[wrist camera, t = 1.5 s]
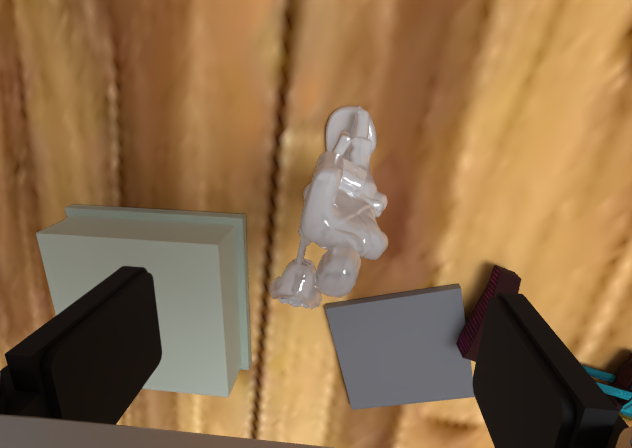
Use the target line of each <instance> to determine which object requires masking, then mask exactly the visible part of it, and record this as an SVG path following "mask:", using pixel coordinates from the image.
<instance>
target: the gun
mask: <svg viewBox="0 0 632 448" xmlns="http://www.w3.org/2000/svg"><path fill="white" fill-rule="evenodd" d="M520 282H521V278H520V277H519V276H518V275H517V274H516V273H515V272H513V271H510V270H507V269H505V268H502V267H500V266H497V265H495V266H494V269H493V271H492V274H491V277H490V279H489V282H488V285H487V287H486V289H485V290H484V292H483V294H482V296H481V298H480V299H479V301H478V303H477V305H476V306H475V308H474V310H473V312H472V314H471V315H470V317H469V319H468V321H467V322H466V324H465V326H464V328H463V330H462V331H461V333H460V335H459V338H458V340H457V343H456V344H457V347H458V349H459V351H460V353H461V355H462V358H465V359H468V360H472V361H475V362H476V360H477V355H478V350H479V345H480V340H481V335H482V330H483V325H484V320H485V315H486V310H487V305H488V301H489V299H490V297H496V295H497V293H499V292H503V293H517V294H518V291H519V286H520ZM582 366H583V365H582ZM583 367H584V369H585V370H586V371H587V372H588V374H589V375H590V376H592V377H595V378H599V379H602V380H605V381H609V384H608V385H605V384H602V383H598V382H596V383H597V384H598V386H599V387H600V388H601V389H602V390H603V392H604V393H605V394H606V395H607V397H608V398H609V399H610V400H611V401H612V403H613V404H614V405H615V406H616V407H617V409H618V410H619V415H620V416H621V418H622V419H623V420H626V421H630V420H632V353H631V354H630V355H629V357H628V358H627V360H626V361H625V363H624V364H623V366H622V367H621V368H620V369H619V370H618V371H617V372H616V373H615V374H614V375H613V374H610V373H606V372H603V371H600V370H596V369H593V368H590V367H586V366H583Z"/></svg>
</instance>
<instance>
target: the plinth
mask: <svg viewBox="0 0 632 448" xmlns="http://www.w3.org/2000/svg"><path fill="white" fill-rule="evenodd" d="M65 212H66V216H67V219H65V220H62V221H60V222H58V223H56V224H54V225H52V226H50V227H48V228H45V229H43V230H41V231H39V232H37V233H36V236H37V240H38V244H39V248H40V252H41V256H42V260H43V264H44V268H45V273H46V277H47V281H48V285H49V289H50V293H51V297H52V301H53V305H54V309H55V313H56V315H58V314H59V313H60V312H62V311H63V310H64V309H66V308H67V307H68V306H70V305H71V304H72V303H74V302H75V301H76V300H78V299H79V298H80V297H82V296H83V295H84V294H86V293H87V292H88V291H90V290H91V289H93V288H94V287H95V286H97V285H98V284H99V283H101V282H102V281H103V280H105V279H106V278H107V277H109V276H110V275H111V274H113V273H114V272H115V271H117V270H118V269H119V268H121V267H122V266H133V267H144V268H146V270H147V271H148V273H151V274H152V276H153V281H154V289H155V297H156V305H157V313H158V321H159V330H160V338H161V346H162V358H161V361H160V363H159V365H158V367H157V368H156V369H155V371H154V372H153V374H152V375H151V376H150V378H149V379H148V381H147V382H146V383H145V385H144V386H143V387H142V389H150V390H160V391H171V392H181V393H191V394H201V395H211V396H221V397H229V395H230V393H231V390H232V388H233V385H234V383H235V380H236V378H237V375H238V373H239V370H240V369H241V370H249V369H250V366H251V363H252V359H251V334H250V309H249V285H248V260H247V235H246V214H234V213H216V212H199V211H182V210H165V209H147V208H130V207H113V206H95V205H78V204H72V205H70V206H68V207H65Z"/></svg>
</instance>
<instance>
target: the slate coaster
mask: <svg viewBox="0 0 632 448" xmlns="http://www.w3.org/2000/svg"><path fill="white" fill-rule="evenodd" d="M325 310H326V313H327V317H328V321H329V325H330V329H331V332H332V336H333V340H334V344H335V347H336V351H337V355H338V359H339V363H340V366H341V370H342V374H343V378H344V381H345V385H346V389H347V393H348V397H349V400H350V404H351V408H352V410H354V409H364V408H373V407H383V406H392V405H402V404H411V403H421V402H431V401H440V400H450V399H459V398H469V397H475V395H474V392H473V376H472V369H471V361H470V360H468V359H465V358H462V355H461V353H460V351H459V349H458V347H457V344H456V343H457V340H458V338H459V335H460V333H461V331H462V330H463V328H464V326H465V324H466V323H465V315H464V308H463V300H462V293H461V287H460V285H459V284H453V285H446V286H440V287H433V288H427V289H420V290H414V291H407V292H401V293H394V294H388V295H382V296H375V297H369V298H362V299H356V300H349V301H343V302H336V303H330V304H326V307H325Z"/></svg>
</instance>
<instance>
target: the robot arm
mask: <svg viewBox="0 0 632 448" xmlns="http://www.w3.org/2000/svg"><path fill="white" fill-rule="evenodd" d="M5 357H6V360H7V364H8V365H7V366H6V367H4V368H3V369H2V370H1V371H0V448H333V447H323V446H314V445H304V444H295V443H285V442H276V441H266V440H257V439H248V438H238V437H229V436H220V435H210V434H201V433H191V432H182V431H173V430H163V429H154V428H144V427H134V426H124V425H116V423H117V422H118V421H119V419H120V418H121V417H122V415H123V414H124V412H125V411H126V410H127V408H128V407H129V405H130V404H131V403H132V401H133V400H134V399H135V397H136V396H137V394H138V393H139V392H140V390H141V389H142V387H143V386H144V385H145V383H146V382H147V381H148V379H149V378H150V376H151V375H152V374H153V372H154V371H155V369H156V368H157V367H158V365H159V363H160V361H161V358H162V346H161V338H160V330H159V321H158V313H157V305H156V297H155V289H154V281H153V276H152V274H151V273H148V271H147V270H146V268H144V267H133V266H122V267H121V268H119V269H118V270H117V271H115V272H114V273H113V274H111V275H110V276H109V277H107V278H106V279H105V280H103V281H102V282H101V283H99V284H98V285H97V286H95V287H94V288H93V289H91V290H90V291H88V292H87V293H86V294H84V295H83V296H82V297H80V298H79V299H78V300H76V301H75V302H74V303H72V304H71V305H70V306H68V307H67V308H66V309H64V310H63V311H62V312H60V313H59V314H58V315H56V316H55V317H54V318H52V319H51V320H50V321H48V322H47V323H46V324H44V325H43V326H42V327H40V328H39V329H38V330H36V331H35V332H34V333H32V334H31V335H30V336H28V337H27V338H26V339H24V340H23V341H22V342H20V343H19V344H18V345H16V346H15V347H14V348H12V349H11V350H10V351H8V352H7V353H5ZM473 392H474V395H475V398H476V400H477V403H478V405H479V408H480V410H481V413H482V416H483V418H484V421H485V423H486V426H487V428H488V431H489V433H490V436H491V439H492V441H493V444H494V446H495V448H632V427H629V426H628V425H627V424H626V423H625V421H624V420H623V419H622V418H621V416H620V415H619V410H618V409H617V407H616V406H615V405H614V404H613V403H612V401H611V400H610V399H609V398H608V397H607V395H606V394H605V393H604V392H603V390H602V389H601V388H600V387H599V386H598V384H597V383H596V382H595V381H594V380H593V378H592V377H591V376H590V375H589V374H588V372H587V371H586V370H585V369H584V367H583V366H582V365H581V364H580V363H579V361H578V360H577V359H576V358H575V357H574V355H573V354H572V353H571V352H570V351H569V349H568V348H567V347H566V346H565V344H564V343H563V342H562V341H561V340H560V338H559V337H558V336H557V335H556V334H555V332H554V331H553V330H552V329H551V328H550V326H549V325H548V324H547V323H546V321H545V320H544V319H543V318H542V317H541V315H540V314H539V313H538V312H537V311H536V309H535V308H534V307H533V306H532V305H531V303H530V302H529V301H528V300H527V298H526V297H525V296H524V295H523V294H517V293H503V292H499V293H497V295H496V297H490V299H489V301H488V305H487V310H486V315H485V320H484V325H483V330H482V335H481V340H480V345H479V350H478V355H477V360H476V365H475V370H474V375H473Z"/></svg>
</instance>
